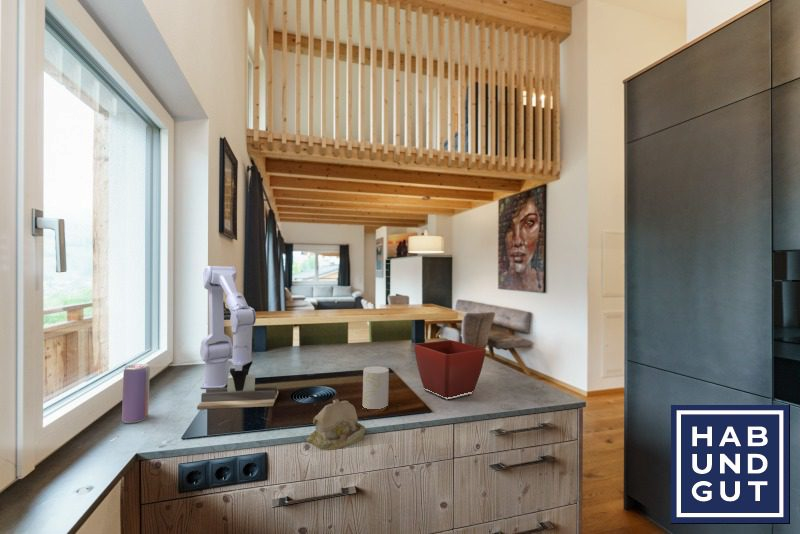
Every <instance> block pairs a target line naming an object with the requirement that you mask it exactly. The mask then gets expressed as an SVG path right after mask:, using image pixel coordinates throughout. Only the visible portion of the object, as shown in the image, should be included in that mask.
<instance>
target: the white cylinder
mask: <svg viewBox="0 0 800 534" xmlns="http://www.w3.org/2000/svg"><path fill="white" fill-rule="evenodd" d="M362 370H363V371H362V373H363V374H362V377H363V378H362V406H363V407H364V408H367V409H381V408H384V407H386V406H388V407H389V385H390V384H389V383H390V381H389V378H390V376H389V375H390V369H389V367H385V366H380V365H379V366H376V365H375V366H374V365H373V366H372V365H371V366H366V367H364V368H363V369H362Z"/></svg>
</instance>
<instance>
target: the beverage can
mask: <svg viewBox="0 0 800 534" xmlns="http://www.w3.org/2000/svg"><path fill="white" fill-rule="evenodd" d="M150 371H151V368H150V364H148V363H134V364H130V365H127V366H124V369H123V377H122V379H123V380H122V384H123V385H122V404H121V406H122V408H121V409H122V411H121V421H122V422H123V423H124V424H135V423H140V422H143V421H145V420H146V419H147V418H148V416H149V406H150V405H149V400H150V377H151V373H150Z"/></svg>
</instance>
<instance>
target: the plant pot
mask: <svg viewBox="0 0 800 534" xmlns="http://www.w3.org/2000/svg"><path fill="white" fill-rule="evenodd" d="M413 346H414V354H415V360H416V366H417V369H418V374H419V378H420V381H421V383H422V386H423V387H422V388H423V389H424V388H425V389H428V390H430V391H432V392H434V393H437V394H439V395H441V396H443V397H447V398H448V397H453V396H457V395H460V394H464V393H468V392H472V391H473V392H474V391H475V388H476V386H477V383H478V381H479V378H480V375H481V372H482V369H483V365H484V361H485V357H486V351H487V350H486V348H484V347H479V346H476V345H472V344H468V343H464V342H460V341H458V340H457V341H456V340H453V339H451V340H450V339H449V340H448V339H447V340H440V341H429V342H428V341H427V342H419V343H414V345H413ZM425 389H424V390H425Z"/></svg>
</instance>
